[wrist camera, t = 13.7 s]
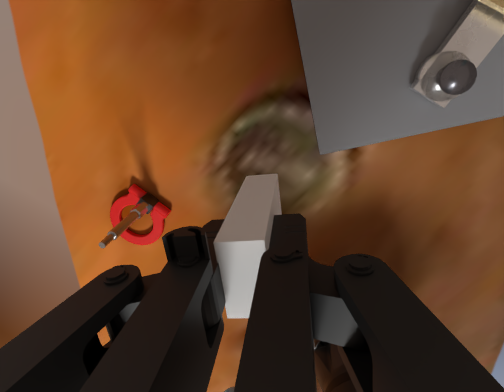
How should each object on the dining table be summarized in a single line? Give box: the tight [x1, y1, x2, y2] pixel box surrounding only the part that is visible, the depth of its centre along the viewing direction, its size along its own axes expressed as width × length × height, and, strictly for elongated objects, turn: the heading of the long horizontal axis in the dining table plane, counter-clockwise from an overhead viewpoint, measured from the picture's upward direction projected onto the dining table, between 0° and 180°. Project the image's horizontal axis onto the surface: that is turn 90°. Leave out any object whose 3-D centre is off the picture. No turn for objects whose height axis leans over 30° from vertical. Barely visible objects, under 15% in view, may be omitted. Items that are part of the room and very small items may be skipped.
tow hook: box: [99, 184, 171, 248], centre depth 44 cm, size 8×13×9 cm
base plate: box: [291, 0, 504, 155], centre depth 34 cm, size 25×29×2 cm
